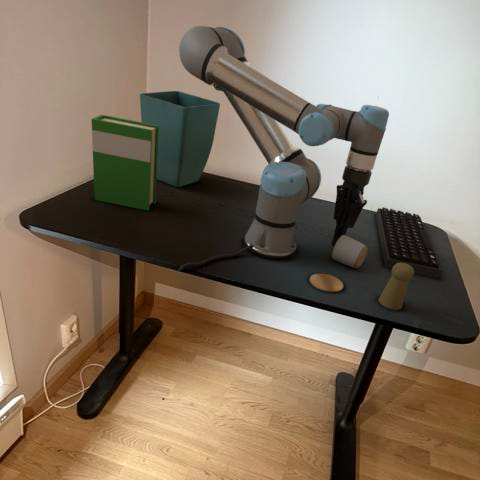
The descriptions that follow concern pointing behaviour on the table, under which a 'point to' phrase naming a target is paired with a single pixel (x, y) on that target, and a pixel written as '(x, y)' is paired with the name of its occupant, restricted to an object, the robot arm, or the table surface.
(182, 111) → the flower pot
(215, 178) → the table surface
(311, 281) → the cork coaster
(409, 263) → the computer keyboard
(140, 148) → the hardback book
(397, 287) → the pepper shaker
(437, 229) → the table surface
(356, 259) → the ceramic mug
